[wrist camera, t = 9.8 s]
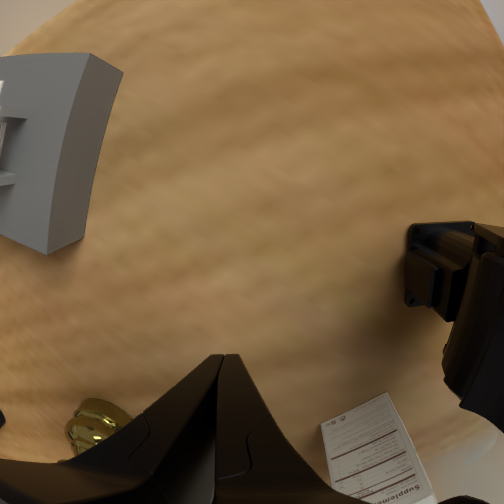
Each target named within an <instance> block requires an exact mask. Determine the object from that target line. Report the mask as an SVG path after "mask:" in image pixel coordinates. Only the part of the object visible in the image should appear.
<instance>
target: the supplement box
mask: <svg viewBox="0 0 504 504" xmlns="http://www.w3.org/2000/svg"><path fill="white" fill-rule="evenodd" d="M320 426H321V431H322V436H323V442H324V447H325V453H326V459H327V465H328V471H329V477H330V483H331V488H333V489H334V490H336V491H338V492H340V493H343V494H346V495H349V496H351V497H354V498H357V499H360V500H363V501H366V502H369V503H373V504H437V503H438V502H437V499H436V496H435V494H434V491H433V488H432V486H431V484H430V481H429V479H428V476H427V474H426V472H425V469H424V467H423V465H422V463H421V460H420V458H419V456H418V454H417V451H416V449H415V447H414V445H413V443H412V440H411V438H410V436H409V434H408V432H407V430H406V428H405V426H404V424H403V422H402V420H401V418H400V416H399V414H398V412H397V410H396V408H395V406H394V404H393V402H392V400H391V398H390V396H389V394H388V392H386V393H383V394H381V395H379V396H377V397H375V398H373V399H371V400H369V401H367V402H365V403H363V404H361V405H359V406H357V407H355V408H353V409H351V410H349V411H347V412H345V413H342V414H340V415H338V416H336V417H334V418H332V419H330V420H327V421H325V422H323V423H321V424H320Z"/></svg>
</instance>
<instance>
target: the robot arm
mask: <svg viewBox="0 0 504 504" xmlns="http://www.w3.org/2000/svg"><path fill="white" fill-rule="evenodd" d="M471 225H472V228H471V230H470V226H471ZM416 228H417V229H418V231H417V233H414V230H415V229H416ZM404 285H405V286H406V289H405V299H404V301H405V304H406V305H407V306H409V307H414V306H420V305H426V306H427V307H428V308H432V309H433V310H434V311H435V312H437V313H438V314H439V315H440V316H441V317H442V318H443V319H444V320H445V321H446V322H452V321H453V322H454V324H453V327H452V330H451V333H450V336H449V339H448V342H447V344H445V346H444V349H443V359H442V363H441V364H442V368H443V371H444V374H445V377H444V379H443V380H444V382H445V384H446V385H447V386H448V388H449V389H450V390H451V391H452V392H453V393H454V394H455V395H456V396H457V397H458V398H459V399H460V400H461V402H460V404H459V407H460V408H463V409H465V410H468V411H471V412H475V413H477V414H478V415H480V416H482V417H484V418H486V419H487V420H489V421H490V422H491V423H493V424H494V425H495V426H496V427H497V428H498V429H499V430H501V431H502V432H503V433H504V227H498V226H492V225H485V224H479V223H475V222H472V221H454V222H432V223H415V224H412V225H411V226H410V229H409V248H408V253H407V254H406V266H405V279H404ZM411 298H413V299H412V301H411V302H409V300H410V299H411ZM213 487H214V496H213V500H212V503H211V504H373V503H369V502H366V501H363V500H360V499H357V498H354V497H351V496H349V495H346V494H343V493H340V492H338V491H336V490H334V489H333V488H331V487H330V486H329V485H328V484H326V483H325V482H324V481H323V480H322V479H321V478H320V477H319V476H318V475H317V474H316V472H315V471H314V470H313V469H312V468H311V467H310V466H309V465H308V464H307V463H306V461H305V460H304V459H303V458H302V457H301V456H300V455H299V454H298V452H297V451H296V450H295V449H294V448H293V447H292V445H291V444H290V443H289V441H288V440H287V439H286V438H285V436H284V435H283V433H282V432H281V430H280V428H279V427H278V425H277V424H276V422H275V420H274V418H273V417H272V415H271V413H270V411H269V410H268V408H267V406H266V404H265V402H264V401H263V399H262V397H261V395H260V393H259V391H258V389H257V388H256V386H255V384H254V382H253V380H252V378H251V376H250V375H249V373H248V371H247V369H246V367H245V365H244V363H243V361H242V359H241V357H240V355H239V354H226V355H225V356H224V355H223V354H213V355H210V356H209V357H208V358H206V359H205V360H204V361H203V362H202V363H201V364H199V365H198V366H197V367H196V368H195V369H194V370H192V371H191V372H190V373H189V374H188V375H187V376H185V377H184V378H183V379H182V380H181V381H180V382H178V383H177V384H176V385H175V386H174V387H172V388H171V389H170V390H169V391H168V392H166V393H165V394H164V395H163V396H162V397H160V398H159V399H158V400H157V401H155V402H154V403H153V404H152V405H151V406H149V407H148V408H147V409H146V410H144V411H143V413H141V414H139V415H138V416H137V417H136V418H134V419H133V420H132V421H130V422H129V423H128V424H126V425H125V426H124V427H122V428H121V429H120V430H118V431H117V432H115V433H113V434H112V435H110V436H109V437H107V438H106V439H104V440H102V441H101V442H99V443H97V444H96V445H94V446H92V447H91V448H89V449H87V450H86V451H84V452H82V453H80V454H79V455H77V456H75V457H73V458H71V459H69V460H67V461H64V462H59V463H36V462H25V461H16V460H8V459H1V458H0V504H210V502H211V497H212V492H213ZM437 504H489V503H488V502H485V501H483V500H480V499H477V498H474V497H471V496H467V495H465V496H457V497H453V498H450V499H447V500H444V501H442V502H439V503H437Z"/></svg>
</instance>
